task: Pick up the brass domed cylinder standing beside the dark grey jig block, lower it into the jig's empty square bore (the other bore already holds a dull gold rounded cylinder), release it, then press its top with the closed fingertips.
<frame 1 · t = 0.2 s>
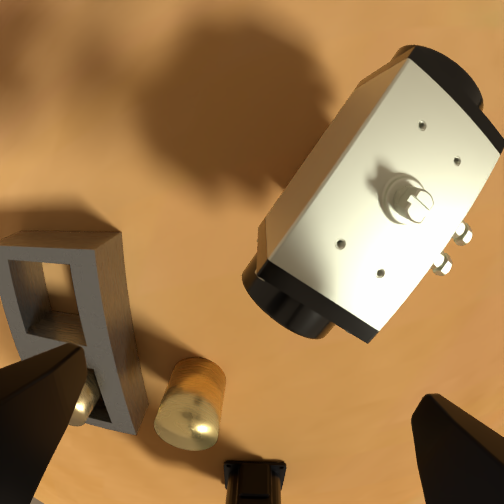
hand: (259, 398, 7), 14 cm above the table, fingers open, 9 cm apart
dull gold rounded cylinder: (91, 363, 24), resting in jig
brass domed cylinder: (199, 378, 24), on the table
pneumatic valve: (334, 177, 19), on the table
jig: (81, 325, 23), on the table
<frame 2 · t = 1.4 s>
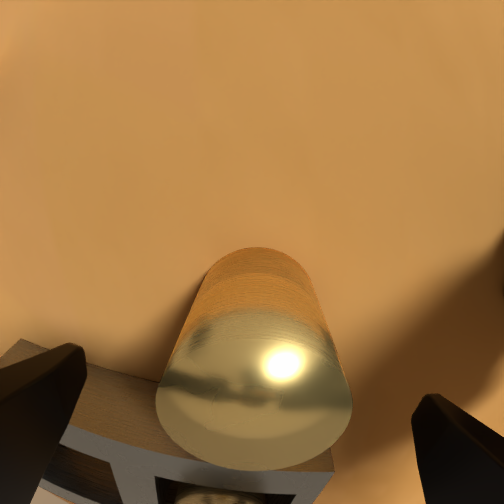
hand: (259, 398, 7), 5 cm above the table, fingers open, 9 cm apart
dull gold rounded cylinder: (225, 456, 15), resting in jig
brass domed cylinder: (256, 303, 12), on the table
jig: (155, 442, 15), on the table
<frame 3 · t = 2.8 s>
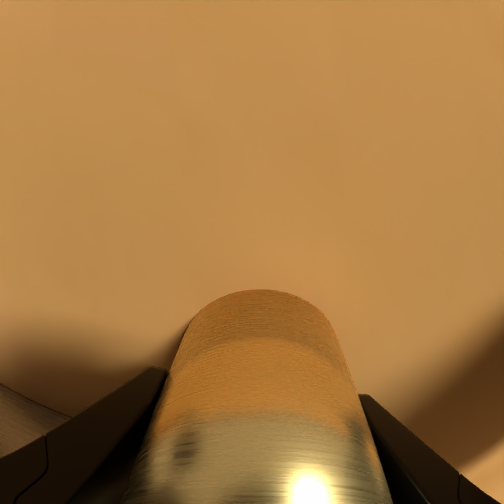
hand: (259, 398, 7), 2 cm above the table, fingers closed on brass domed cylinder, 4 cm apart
brass domed cylinder: (260, 361, 8), on the table, touching gripper
jig: (141, 493, 11), on the table
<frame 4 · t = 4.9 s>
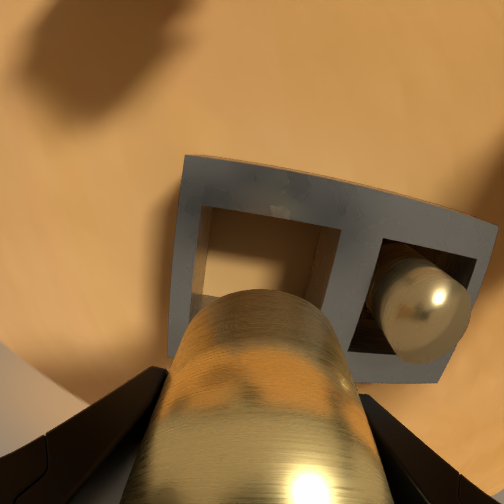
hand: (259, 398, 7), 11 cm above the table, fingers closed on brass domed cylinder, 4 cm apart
dull gold rounded cylinder: (389, 277, 18), resting in jig
brass domed cylinder: (260, 361, 8), point 10 cm above the table, touching gripper
jig: (329, 266, 18), on the table
when the fingers open (5 cm above the table, at t = 6.8 s): brass domed cylinder drops 3 cm, resting in jig.
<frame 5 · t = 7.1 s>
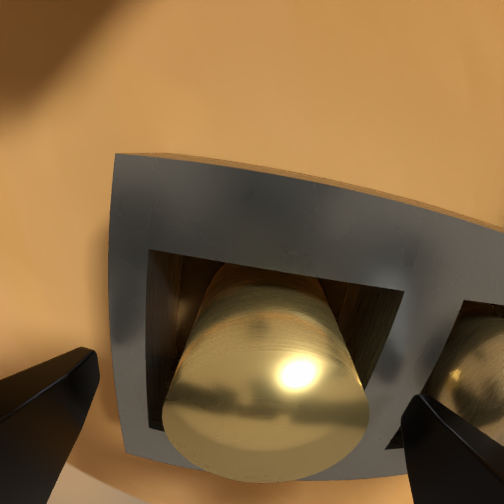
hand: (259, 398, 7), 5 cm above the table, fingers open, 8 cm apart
dull gold rounded cylinder: (439, 330, 12), resting in jig
brass domed cylinder: (264, 307, 12), resting in jig
jig: (361, 322, 12), on the table
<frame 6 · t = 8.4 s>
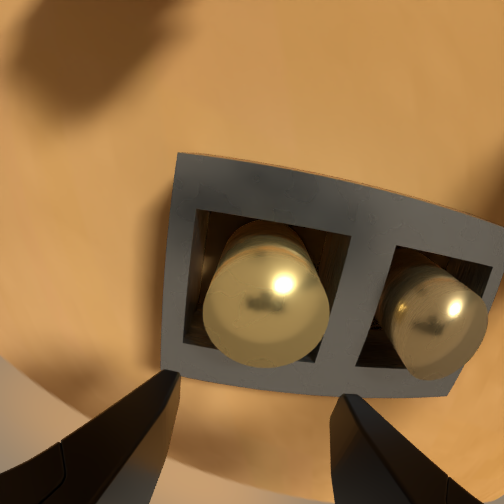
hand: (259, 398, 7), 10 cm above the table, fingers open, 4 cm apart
dull gold rounded cylinder: (399, 284, 17), resting in jig
brass domed cylinder: (264, 261, 16), resting in jig
jig: (335, 274, 17), on the table
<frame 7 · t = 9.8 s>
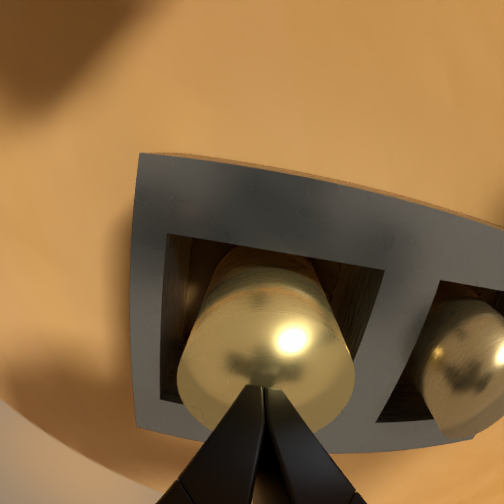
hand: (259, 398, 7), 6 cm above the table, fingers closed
dull gold rounded cylinder: (426, 315, 13), resting in jig
brass domed cylinder: (264, 291, 13), resting in jig
jig: (352, 306, 13), on the table
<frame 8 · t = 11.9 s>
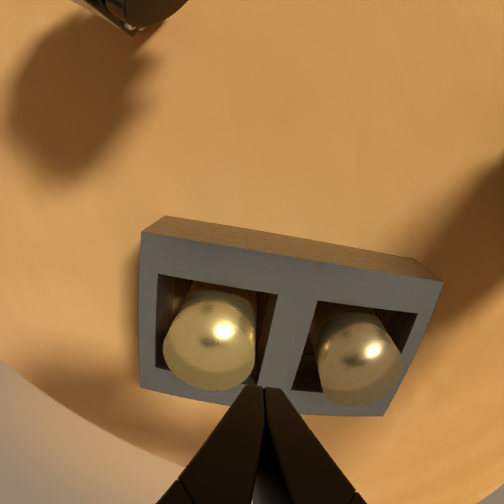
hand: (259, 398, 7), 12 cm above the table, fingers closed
dull gold rounded cylinder: (340, 320, 20), resting in jig
brass domed cylinder: (222, 301, 20), resting in jig
pneumatic valve: (145, 1, 14), on the table
jig: (281, 312, 20), on the table
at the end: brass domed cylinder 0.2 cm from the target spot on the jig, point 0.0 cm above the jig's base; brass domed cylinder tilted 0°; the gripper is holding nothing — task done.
